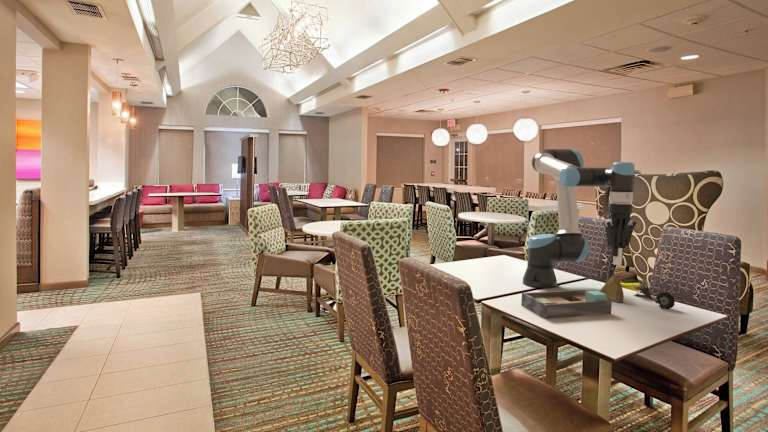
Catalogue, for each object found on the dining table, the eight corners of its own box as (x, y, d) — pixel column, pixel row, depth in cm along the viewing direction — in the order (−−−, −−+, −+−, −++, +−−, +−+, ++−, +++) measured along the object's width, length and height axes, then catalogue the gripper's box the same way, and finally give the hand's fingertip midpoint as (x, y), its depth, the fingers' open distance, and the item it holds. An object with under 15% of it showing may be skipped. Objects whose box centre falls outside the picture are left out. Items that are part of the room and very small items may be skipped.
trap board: (521, 305, 178) (521, 293, 178) (583, 301, 184) (584, 289, 184) (544, 318, 163) (544, 305, 162) (611, 313, 169) (611, 300, 168)
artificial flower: (653, 312, 176) (646, 287, 177) (632, 302, 198) (626, 280, 199) (677, 307, 175) (670, 282, 175) (653, 298, 197) (647, 275, 197)
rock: (632, 298, 181) (626, 289, 191) (619, 281, 181) (614, 273, 190) (607, 311, 185) (603, 301, 195) (594, 294, 185) (591, 285, 194)
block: (585, 301, 174) (585, 291, 173) (596, 300, 175) (597, 290, 175) (594, 305, 169) (594, 295, 169) (605, 304, 170) (606, 294, 170)
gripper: (613, 204, 165) (609, 267, 167) (643, 203, 168) (639, 266, 170) (599, 202, 172) (595, 263, 174) (628, 202, 175) (624, 262, 177)
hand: (617, 264), depth 172 cm, fingers closed
